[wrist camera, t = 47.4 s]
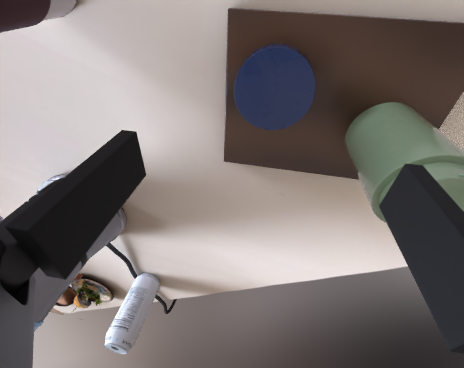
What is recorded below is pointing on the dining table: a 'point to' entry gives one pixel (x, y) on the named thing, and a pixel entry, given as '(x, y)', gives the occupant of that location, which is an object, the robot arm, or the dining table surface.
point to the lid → (274, 87)
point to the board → (341, 81)
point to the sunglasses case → (66, 298)
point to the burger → (89, 292)
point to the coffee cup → (31, 12)
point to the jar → (401, 151)
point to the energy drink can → (132, 314)
